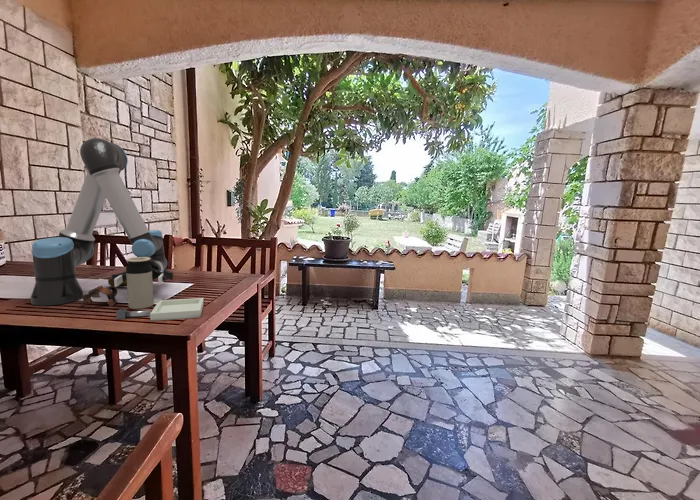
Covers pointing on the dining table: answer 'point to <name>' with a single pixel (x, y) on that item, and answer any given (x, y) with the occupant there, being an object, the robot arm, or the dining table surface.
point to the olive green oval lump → (119, 285)
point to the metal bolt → (131, 313)
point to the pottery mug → (106, 291)
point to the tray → (177, 309)
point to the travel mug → (139, 283)
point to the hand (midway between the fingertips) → (137, 282)
